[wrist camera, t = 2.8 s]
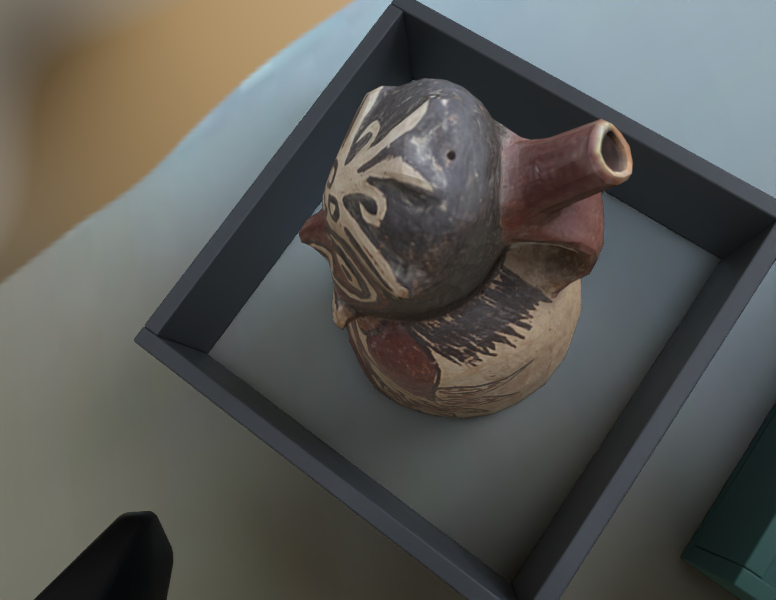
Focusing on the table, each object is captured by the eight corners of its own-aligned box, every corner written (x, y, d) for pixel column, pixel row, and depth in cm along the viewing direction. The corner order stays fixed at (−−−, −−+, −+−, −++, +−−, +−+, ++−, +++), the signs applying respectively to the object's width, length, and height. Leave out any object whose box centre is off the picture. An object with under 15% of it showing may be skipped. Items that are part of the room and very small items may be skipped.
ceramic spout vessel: (370, 192, 23) (272, -78, 11) (581, 218, 21) (721, -48, 10) (331, 398, 21) (171, 342, 9) (554, 437, 20) (682, 426, 8)
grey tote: (515, 608, 19) (529, 647, 16) (187, 357, 22) (131, 340, 18) (744, 255, 21) (805, 213, 17) (409, 62, 23) (399, -10, 20)
